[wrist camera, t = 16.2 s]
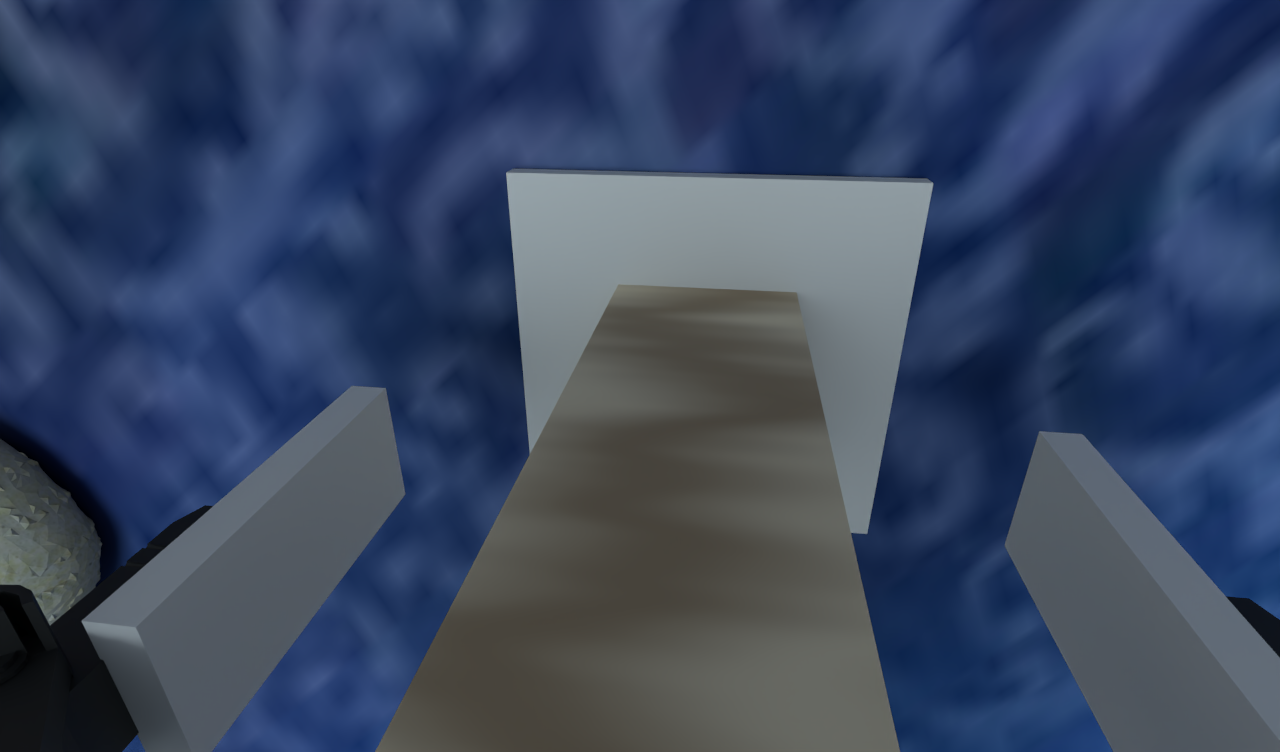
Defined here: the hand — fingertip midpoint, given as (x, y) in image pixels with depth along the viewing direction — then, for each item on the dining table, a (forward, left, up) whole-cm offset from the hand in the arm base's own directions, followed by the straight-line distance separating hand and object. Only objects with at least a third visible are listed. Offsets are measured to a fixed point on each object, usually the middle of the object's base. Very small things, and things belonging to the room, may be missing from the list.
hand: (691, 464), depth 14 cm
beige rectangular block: (0, 0, -5) cm, 5 cm away
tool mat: (0, 0, -5) cm, 5 cm away
